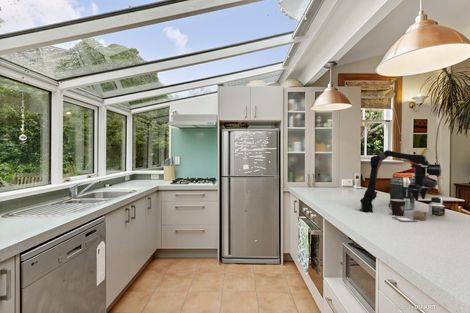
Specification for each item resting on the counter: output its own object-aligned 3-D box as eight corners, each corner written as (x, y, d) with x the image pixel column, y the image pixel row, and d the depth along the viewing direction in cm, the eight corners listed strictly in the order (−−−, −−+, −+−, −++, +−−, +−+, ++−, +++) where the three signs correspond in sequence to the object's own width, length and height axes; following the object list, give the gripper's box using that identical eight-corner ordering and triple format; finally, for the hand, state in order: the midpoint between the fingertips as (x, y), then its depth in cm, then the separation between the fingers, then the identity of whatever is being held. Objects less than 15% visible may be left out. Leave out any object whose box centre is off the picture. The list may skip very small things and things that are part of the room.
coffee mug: (401, 213, 181) (401, 199, 181) (408, 216, 173) (408, 201, 173) (383, 213, 183) (383, 198, 182) (389, 216, 174) (389, 201, 174)
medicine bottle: (431, 216, 175) (432, 197, 175) (428, 213, 182) (428, 196, 182) (445, 217, 172) (445, 198, 172) (441, 214, 179) (441, 196, 179)
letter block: (422, 221, 162) (422, 213, 162) (413, 219, 166) (413, 211, 166) (426, 220, 165) (426, 212, 165) (417, 218, 169) (417, 210, 169)
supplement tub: (415, 211, 189) (415, 174, 189) (389, 208, 198) (389, 173, 197) (413, 207, 203) (414, 173, 203) (390, 205, 211) (390, 172, 211)
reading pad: (401, 222, 160) (401, 220, 160) (391, 217, 170) (391, 216, 170) (418, 222, 160) (418, 221, 160) (407, 218, 170) (407, 216, 170)
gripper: (428, 176, 154) (428, 203, 154) (441, 174, 165) (441, 200, 165) (407, 175, 163) (407, 200, 164) (421, 173, 174) (420, 197, 174)
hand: (420, 199), depth 166 cm, fingers open, 9 cm apart
